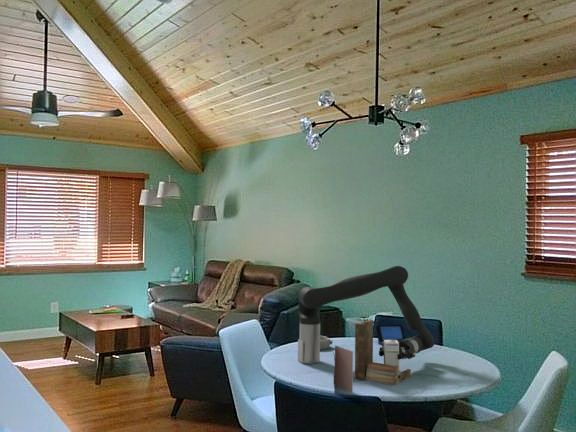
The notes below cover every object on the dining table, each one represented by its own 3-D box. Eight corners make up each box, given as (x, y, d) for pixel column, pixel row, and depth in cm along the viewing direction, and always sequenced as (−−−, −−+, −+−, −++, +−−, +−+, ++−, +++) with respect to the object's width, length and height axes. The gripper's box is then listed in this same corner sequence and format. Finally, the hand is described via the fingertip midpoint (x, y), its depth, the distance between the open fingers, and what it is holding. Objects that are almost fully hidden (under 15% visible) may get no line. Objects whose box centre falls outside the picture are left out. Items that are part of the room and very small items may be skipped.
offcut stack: (393, 385, 207) (393, 369, 208) (365, 379, 215) (365, 364, 215) (400, 382, 212) (400, 366, 212) (372, 376, 220) (372, 361, 220)
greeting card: (332, 384, 208) (332, 345, 208) (351, 385, 207) (352, 345, 208) (332, 393, 197) (332, 352, 197) (352, 394, 196) (353, 352, 196)
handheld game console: (384, 348, 273) (385, 329, 273) (374, 342, 286) (374, 325, 286) (413, 347, 276) (413, 328, 276) (402, 341, 289) (402, 324, 289)
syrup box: (399, 378, 217) (399, 342, 217) (384, 378, 217) (385, 342, 217) (397, 375, 222) (397, 339, 223) (383, 374, 223) (383, 339, 223)
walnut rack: (391, 386, 206) (391, 328, 206) (354, 379, 216) (355, 323, 216) (410, 376, 220) (411, 322, 220) (375, 370, 230) (376, 318, 230)
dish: (310, 351, 263) (310, 341, 263) (298, 345, 275) (298, 335, 275) (336, 349, 268) (336, 339, 268) (323, 343, 281) (323, 334, 281)
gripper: (391, 337, 236) (373, 343, 223) (422, 341, 227) (405, 348, 214) (391, 354, 236) (373, 361, 223) (422, 359, 227) (405, 367, 214)
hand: (389, 355), depth 218 cm, fingers closed on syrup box, 7 cm apart
